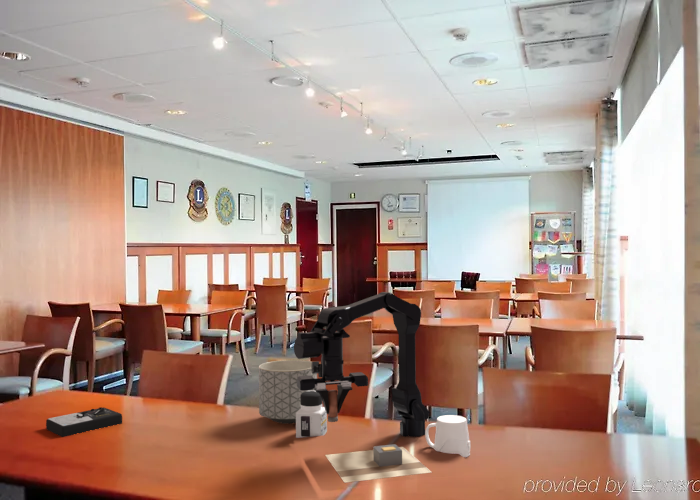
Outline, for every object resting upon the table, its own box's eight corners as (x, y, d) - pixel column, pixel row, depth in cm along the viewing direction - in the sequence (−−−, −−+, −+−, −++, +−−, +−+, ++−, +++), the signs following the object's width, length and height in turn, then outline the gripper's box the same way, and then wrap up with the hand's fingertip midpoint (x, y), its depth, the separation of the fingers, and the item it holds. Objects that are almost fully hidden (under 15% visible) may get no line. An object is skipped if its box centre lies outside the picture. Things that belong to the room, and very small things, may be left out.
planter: (286, 410, 209) (285, 358, 209) (329, 418, 198) (328, 363, 198) (247, 422, 194) (246, 366, 194) (291, 432, 182) (290, 373, 183)
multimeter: (123, 424, 195) (122, 409, 195) (62, 438, 181) (62, 422, 181) (104, 417, 204) (104, 403, 204) (45, 430, 190) (45, 414, 190)
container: (321, 439, 175) (320, 395, 175) (295, 438, 176) (295, 394, 177) (327, 432, 182) (326, 389, 183) (302, 430, 184) (302, 388, 184)
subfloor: (403, 451, 164) (403, 446, 164) (432, 477, 145) (432, 472, 145) (325, 459, 158) (325, 455, 158) (344, 487, 139) (344, 482, 139)
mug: (471, 416, 164) (468, 424, 156) (471, 450, 164) (468, 459, 156) (427, 413, 168) (422, 421, 160) (428, 446, 168) (423, 456, 160)
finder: (395, 457, 155) (395, 443, 155) (402, 464, 150) (402, 449, 150) (373, 460, 154) (373, 445, 154) (379, 466, 149) (379, 451, 149)
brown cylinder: (336, 418, 163) (336, 389, 163) (338, 421, 160) (338, 391, 160) (326, 419, 162) (326, 390, 162) (329, 422, 160) (328, 392, 160)
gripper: (357, 348, 172) (357, 403, 171) (292, 352, 167) (293, 408, 166) (368, 355, 161) (369, 413, 161) (300, 359, 156) (300, 418, 156)
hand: (332, 413), depth 161 cm, fingers closed on brown cylinder, 3 cm apart
